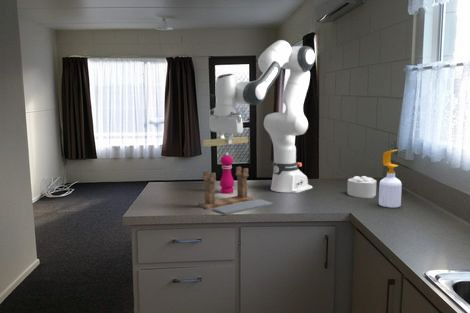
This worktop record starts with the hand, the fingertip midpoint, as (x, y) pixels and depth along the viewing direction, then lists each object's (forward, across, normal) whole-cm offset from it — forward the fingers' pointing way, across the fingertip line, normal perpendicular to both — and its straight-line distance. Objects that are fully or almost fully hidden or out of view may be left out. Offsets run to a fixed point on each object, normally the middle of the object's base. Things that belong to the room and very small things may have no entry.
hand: (226, 143), depth 191 cm
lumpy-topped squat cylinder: (+27, -28, -60) cm, 72 cm away
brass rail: (0, 0, 0) cm, 0 cm away
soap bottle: (+27, -48, -53) cm, 76 cm away
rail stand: (+27, 0, 0) cm, 27 cm away
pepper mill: (+27, +17, -13) cm, 35 cm away
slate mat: (+27, -11, -1) cm, 29 cm away
